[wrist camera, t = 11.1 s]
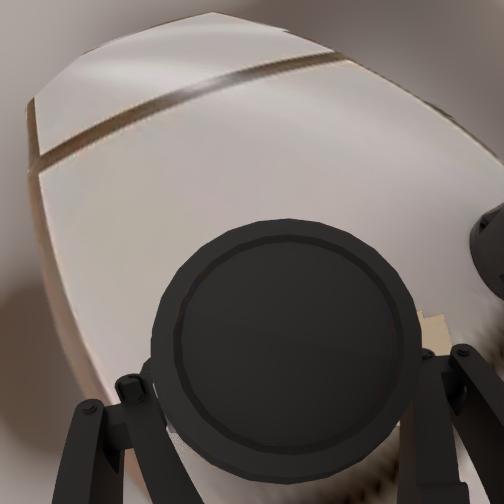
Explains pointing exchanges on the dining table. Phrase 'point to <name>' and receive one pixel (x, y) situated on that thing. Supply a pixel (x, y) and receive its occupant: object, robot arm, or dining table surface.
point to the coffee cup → (285, 351)
